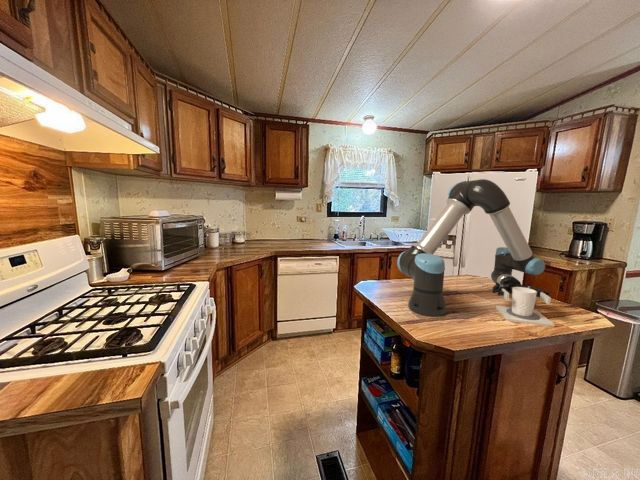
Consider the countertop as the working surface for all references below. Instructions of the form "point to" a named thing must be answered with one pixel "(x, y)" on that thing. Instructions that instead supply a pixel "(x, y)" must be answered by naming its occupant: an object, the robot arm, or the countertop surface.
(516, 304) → the white cup
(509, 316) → the trivet
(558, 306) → the countertop surface
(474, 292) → the countertop surface
